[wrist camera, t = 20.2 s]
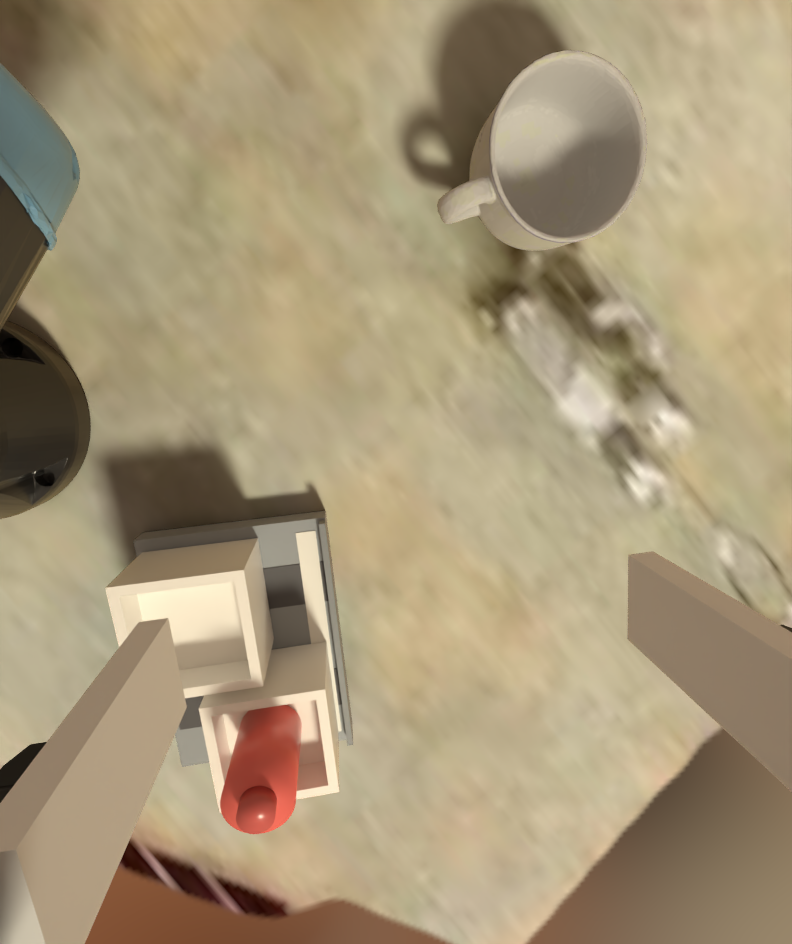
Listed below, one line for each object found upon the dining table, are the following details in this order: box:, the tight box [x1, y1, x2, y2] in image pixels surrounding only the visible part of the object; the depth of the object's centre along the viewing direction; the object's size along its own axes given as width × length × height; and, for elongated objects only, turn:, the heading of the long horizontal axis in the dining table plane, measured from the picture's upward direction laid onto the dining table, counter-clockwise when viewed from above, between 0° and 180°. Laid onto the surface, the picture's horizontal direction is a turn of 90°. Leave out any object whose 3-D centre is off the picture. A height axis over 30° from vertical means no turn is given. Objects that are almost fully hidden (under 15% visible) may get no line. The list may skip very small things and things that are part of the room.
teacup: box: [437, 50, 647, 251], centre depth 35 cm, size 14×11×8 cm
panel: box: [133, 511, 353, 767], centre depth 43 cm, size 15×26×3 cm, turn 5°
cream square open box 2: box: [199, 642, 339, 813], centre depth 40 cm, size 9×9×6 cm
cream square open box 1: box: [105, 538, 274, 698], centre depth 38 cm, size 9×9×6 cm
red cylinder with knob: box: [220, 705, 302, 834], centre depth 35 cm, size 5×5×8 cm
